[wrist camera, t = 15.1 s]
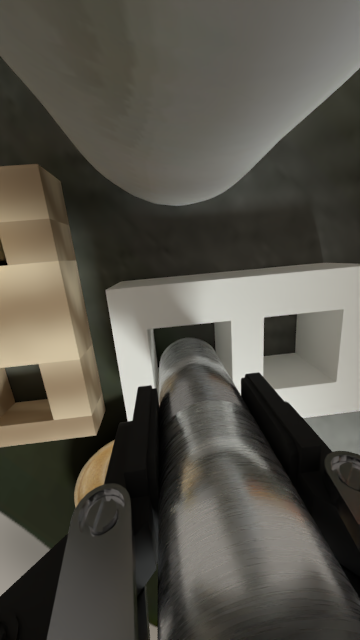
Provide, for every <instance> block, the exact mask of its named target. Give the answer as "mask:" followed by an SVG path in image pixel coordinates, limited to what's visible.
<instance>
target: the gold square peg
mask: <svg viewBox="0 0 360 640" xmlns="http://www.w3.org/2000/svg"><path fill="white" fill-rule="evenodd" d="M0 261H6V257H5V253H4V249H3V246H2V242H1V238H0Z"/></svg>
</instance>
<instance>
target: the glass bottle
mask: <svg viewBox="0 0 360 640" xmlns="http://www.w3.org/2000/svg"><path fill="white" fill-rule="evenodd" d="M0 56H1V57H2V59H3V60H4V61H5V62H6V63H7V64H8V66H9V67H10V68H11V69H12V70H13V71H14V72H15V73H16V75H17V76H18V77H19V78H20V79H21V80H22V81H23V83H24V84H25V85H26V86H27V87H28V88H29V89H30V91H31V92H32V93H33V94H34V95H35V96H36V97H37V99H38V100H39V101H40V102H41V103H42V105H43V106H44V107H45V108H46V110H47V111H48V112H49V114H50V115H51V116H52V117H53V119H54V120H55V121H56V123H57V124H58V125H59V126H60V128H61V129H62V130H63V131H64V133H65V134H66V135H67V137H68V138H69V139H70V140H71V142H72V143H73V144H74V145H75V147H76V148H77V149H78V150H79V152H80V153H81V154H82V155H83V156H84V157H85V158H86V160H87V161H88V162H89V163H90V164H91V165H92V166H93V167H94V168H95V169H96V170H97V171H98V172H99V173H101V174H102V175H103V176H104V177H105V178H107V179H108V180H110V181H111V182H112V183H114V184H115V185H117V186H118V187H120V188H122V189H123V190H125V191H127V192H128V193H130V194H132V195H133V196H135V197H138V198H141V199H144V200H146V201H149V202H152V203H154V204H161V205H172V206H182V205H189V204H193V203H198V202H201V201H205V200H208V199H211V198H213V197H215V196H217V195H219V194H221V193H223V192H224V191H226V190H227V189H229V188H230V187H231V186H233V185H234V184H235V183H236V182H238V181H239V180H240V179H241V178H242V177H243V176H244V175H245V174H247V173H248V172H249V171H250V170H251V169H252V168H253V167H254V166H255V165H256V164H257V163H258V162H259V161H260V160H261V159H262V158H263V157H264V156H265V155H266V154H267V153H268V152H269V151H270V150H271V149H272V148H273V147H274V146H275V145H276V144H277V143H278V142H279V141H280V140H281V139H282V138H283V137H284V136H285V135H286V134H287V133H288V132H290V131H291V130H292V129H293V128H294V127H295V126H296V125H297V124H299V123H300V122H301V121H302V120H303V119H304V118H305V117H307V116H308V115H309V114H310V113H311V112H312V111H313V110H314V109H316V108H317V107H318V106H319V105H320V104H321V103H322V102H324V101H325V100H326V99H327V98H328V97H329V96H330V95H331V94H332V93H334V92H335V91H336V90H337V89H338V88H339V87H340V86H341V85H342V84H343V83H345V82H346V81H347V80H348V79H349V78H350V77H351V76H352V75H353V74H354V73H355V72H356V71H357V70H358V69H359V68H360V0H0Z"/></svg>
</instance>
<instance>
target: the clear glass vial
mask: <svg viewBox="0 0 360 640" xmlns="http://www.w3.org/2000/svg"><path fill="white" fill-rule="evenodd" d="M158 640H360V599H359V597H358V595H357V594H356V592H355V590H354V588H353V587H352V585H351V583H350V582H349V580H348V578H347V576H346V575H345V573H344V571H343V570H342V568H341V566H340V564H339V563H338V561H337V559H336V558H335V556H334V554H333V552H332V551H331V549H330V547H329V546H328V544H327V542H326V540H325V539H324V537H323V535H322V534H321V532H320V530H319V528H318V527H317V525H316V523H315V522H314V520H313V518H312V516H311V515H310V513H309V511H308V510H307V508H306V506H305V504H304V503H303V501H302V499H301V498H300V496H299V494H298V492H297V491H296V489H295V487H294V486H293V484H292V482H291V480H290V479H289V477H288V475H287V474H286V472H285V470H284V468H283V467H282V465H281V463H280V462H279V460H278V458H277V456H276V455H275V453H274V451H273V450H272V448H271V446H270V444H269V443H268V441H267V439H266V438H265V436H264V434H263V432H262V431H261V429H260V427H259V426H258V424H257V422H256V420H255V419H254V417H253V415H252V414H251V412H250V410H249V408H248V407H247V405H246V403H245V402H244V400H243V398H242V396H241V395H240V393H239V391H238V390H237V388H236V386H235V384H234V383H233V381H232V379H231V378H230V376H229V374H228V372H227V371H226V369H225V367H224V366H223V364H222V362H221V360H220V359H219V357H218V355H217V354H216V352H215V350H214V349H213V348H212V346H211V345H209V344H208V343H207V342H205V341H203V340H201V339H198V338H183V339H180V340H177V341H175V342H173V343H172V344H170V345H169V346H168V347H167V348H166V349H165V351H164V352H163V354H162V356H161V359H160V364H159V505H158Z"/></svg>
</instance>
